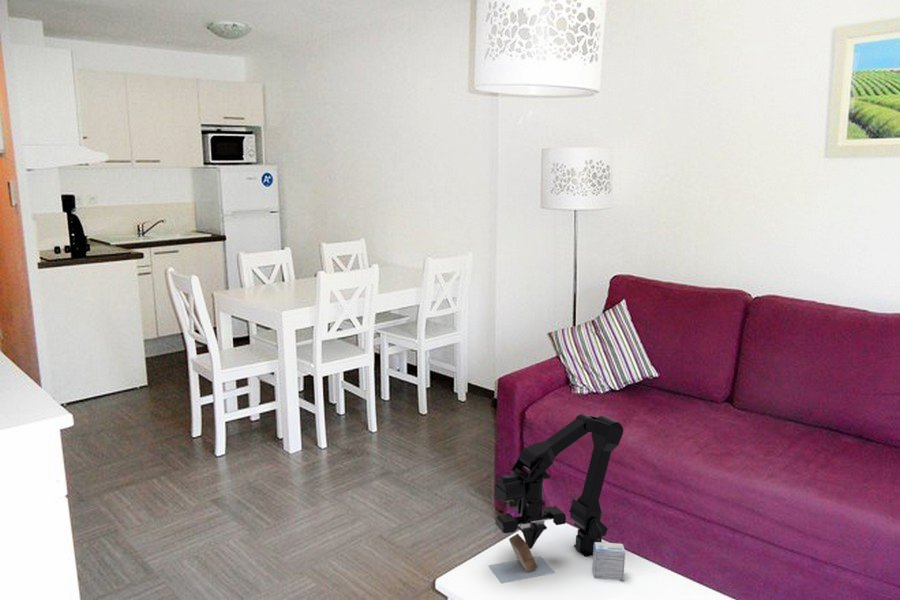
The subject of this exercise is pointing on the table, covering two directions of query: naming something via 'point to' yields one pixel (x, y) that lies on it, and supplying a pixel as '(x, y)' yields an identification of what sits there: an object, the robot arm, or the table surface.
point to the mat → (519, 570)
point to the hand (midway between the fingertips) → (529, 548)
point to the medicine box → (608, 561)
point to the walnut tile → (523, 553)
